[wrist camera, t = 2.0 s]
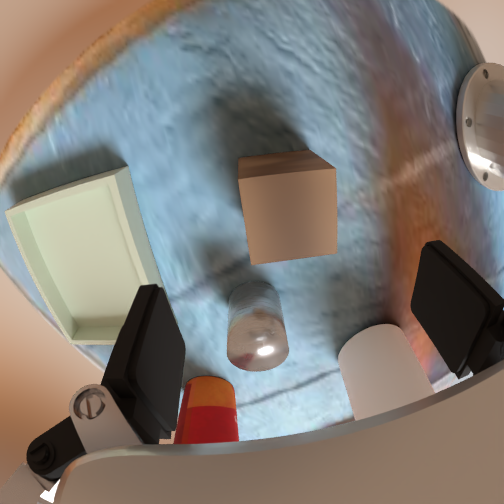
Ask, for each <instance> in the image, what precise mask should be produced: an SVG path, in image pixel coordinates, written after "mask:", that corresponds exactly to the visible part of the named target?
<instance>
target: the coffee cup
mask: <svg viewBox="0 0 504 504" xmlns="http://www.w3.org/2000/svg"><path fill="white" fill-rule="evenodd" d="M237 441H239V436H238V424H237V412H236V401H235V392H234V388H233V386H232V385H231V384H230V383H229V382H228V381H226V380H224V379H222V378H218V377H214V376H199V377H195V378H193V379H191V380H189V381H188V382H187V384H186V387H185V390H184V394H183V399H182V403H181V408H180V413H179V418H178V423H177V428H176V433H175V438H174V443H173V444H207V443H224V442H237Z"/></svg>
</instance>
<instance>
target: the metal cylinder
mask: <svg viewBox="0 0 504 504" xmlns="http://www.w3.org/2000/svg"><path fill="white" fill-rule="evenodd" d="M288 353H289V347H288V341H287V336H286V330H285V325H284V319H283V314H282V308H281V303H280V297H279V294H278V292H277V291H276V289H275V288H274V287H272V286H271V285H269V284H267V283H264V282H260V281H251V282H246V283H243V284H241V285H239V286H238V287H236V288H235V289H234V290H233V291H232V293H231V294H230V297H229V309H228V334H227V357H228V359H229V361H230V362H231V363H232V364H233V365H235V366H236V367H238V368H240V369H243V370H246V371H266V370H269V369H272V368H275V367H277V366H279V365H280V364H281V363H282V362H284V360H285V359H286V358H287V356H288Z"/></svg>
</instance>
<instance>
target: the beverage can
mask: <svg viewBox="0 0 504 504" xmlns="http://www.w3.org/2000/svg"><path fill="white" fill-rule="evenodd" d="M338 364H339V367H340V371H341V374H342V377H343V380H344V383H345V387H346V390H347V393H348V397H349V400H350V404H351V407H352V410H353V414H354V417H355V421H357V420H361V419H364V418H368V417H371V416H374V415H378V414H381V413H384V412H387V411H390V410H393V409H396V408H399V407H402V406H405V405H407V404H410V403H413V402H415V401H418V400H421V399H423V398H426V397H428V396H430V395H433V394H435V392H434V390H433V388H432V386H431V384H430V382H429V380H428V378H427V376H426V374H425V372H424V370H423V368H422V366H421V364H420V362H419V360H418V358H417V357H416V355H415V353H414V351H413V349H412V347H411V345H410V344H409V342H408V340H407V338H406V336H405V335H404V333H403V331H402V330H401V329H400V328H399V327H397V326H395V325H392V324H380V325H375V326H372V327H369V328H367V329H365V330H363V331H361V332H359V333H357V334H356V335H354V336H353V337H352V338H351V339H349V340H348V341H347V342H346V343H345V345H344V346H343V347H342V349H341V351H340V353H339V356H338Z"/></svg>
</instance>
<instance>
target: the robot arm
mask: <svg viewBox="0 0 504 504" xmlns="http://www.w3.org/2000/svg"><path fill="white" fill-rule="evenodd" d="M456 125H457V136H458V141H459V146H460V150H461V153H462V156H463V159H464V162H465V164H466V166H467V168H468V170H469V172H470V173H471V175H472V176H473V177H474V179H475V180H476V181H478V182H479V183H480V184H481V185H483V186H485V187H487V188H488V189H491V190H494V191H503V190H504V67H503V66H502V65H499V64H496V63H482V64H478V65H476V66H475V67H473V68H472V69H471V70H470V71H469V72H468V74H467V75H466V76H465V78H464V81H463V83H462V85H461V88H460V92H459V95H458V102H457V109H456ZM503 307H504V299H503V298H502V297H501V296H500V295H499V294H498V293H497V292H496V291H495V290H494V289H493V288H492V287H491V286H490V285H489V284H488V283H487V282H486V281H485V280H484V279H483V278H482V277H481V276H480V275H479V274H478V273H477V272H476V271H475V270H474V269H473V268H471V267H470V266H469V265H468V264H467V263H466V262H465V261H464V260H463V259H462V258H460V257H459V256H458V255H457V254H456V253H455V252H454V251H453V250H451V249H450V248H449V247H448V246H447V245H446V244H444V243H443V242H442V241H440V240H436V241H431V242H427V243H426V244H425V246H424V247H423V248H422V251H421V256H420V262H419V267H418V272H417V277H416V282H415V287H414V291H413V296H412V300H411V310H412V313H413V314H414V315H415V317H416V318H417V320H418V321H419V323H420V324H421V326H422V327H423V329H424V330H425V332H426V333H427V335H428V336H429V338H430V339H431V341H432V342H433V344H434V345H435V347H436V348H437V350H438V351H439V353H440V355H441V356H442V358H443V359H444V361H445V363H446V364H447V366H448V367H449V369H450V371H451V372H452V373H455V374H456V376H457V378H458V379H460V378H463V377H464V376H467V375H468V374H469V373H470V371H472V373H473V376H472V377H470V378H468V379H466V380H464V381H462V382H460V383H458V384H456V385H454V386H451V387H449V388H447V389H445V390H442V391H440V392H438V393H435V394H433V395H430V396H428V397H426V398H423V399H421V400H418V401H415V402H413V403H410V404H407V405H405V406H402V407H399V408H396V409H393V410H390V411H387V412H384V413H381V414H378V415H374V416H371V417H368V418H364V419H361V420H357V421H353V422H349V423H346V424H342V425H337V426H333V427H329V428H324V429H320V430H315V431H310V432H305V433H299V434H293V435H287V436H281V437H274V438H266V439H258V440H248V441H237V442H224V443H207V444H159V439H171V431H175V430H176V427H177V417H178V408H179V399H180V391H181V382H182V374H183V367H184V359H185V351H186V349H185V343H184V340H183V338H182V335H181V333H180V330H179V328H178V325H177V323H176V320H175V317H174V315H173V312H172V310H171V307H170V304H169V302H168V299H167V296H166V293H165V291H164V289H163V287H158V285H157V284H148V285H141V286H140V287H139V289H138V291H137V293H136V296H135V298H134V300H133V303H132V305H131V308H130V310H129V313H128V315H127V318H126V320H125V323H124V325H123V326H122V328H121V329H120V332H119V335H118V337H117V340H116V342H115V345H114V348H113V351H112V353H111V356H110V359H109V362H108V364H107V367H106V370H105V373H104V376H103V379H102V382H101V385H98V384H91V385H87V386H84V387H82V388H81V389H79V390H78V391H77V392H76V393H75V394H74V395H73V397H72V399H71V401H70V405H69V411H70V416H69V417H68V418H66V419H64V420H63V421H62V422H60V423H59V424H57V425H55V426H54V427H52V428H51V429H49V430H48V431H46V432H45V433H43V434H42V435H40V436H39V437H37V438H36V439H35V440H33V441H32V442H31V444H30V445H29V447H28V450H27V464H25V463H22V464H21V465H20V466H19V467H18V469H17V470H16V471H15V472H14V473H13V475H12V476H11V477H10V478H9V480H8V481H7V482H6V483H5V485H4V486H3V487H2V488H1V489H0V504H504V311H503Z"/></svg>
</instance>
